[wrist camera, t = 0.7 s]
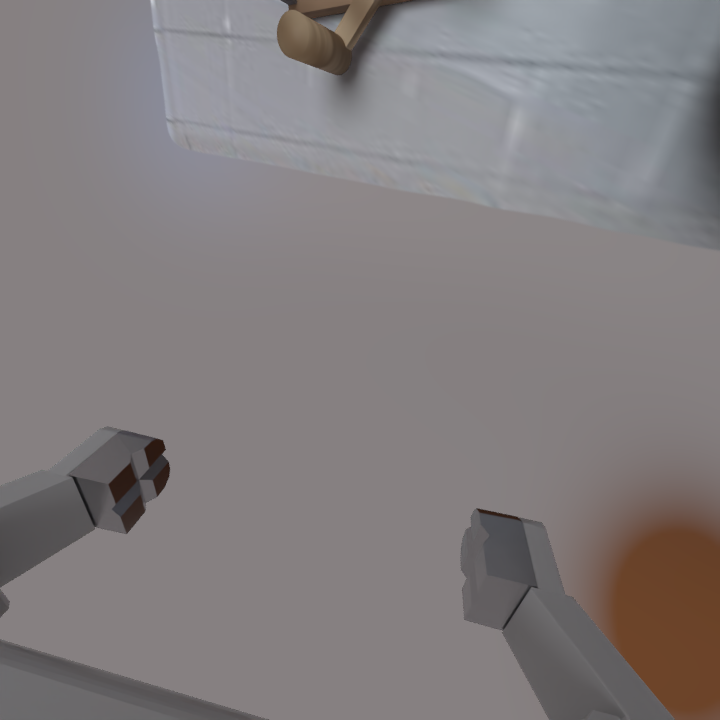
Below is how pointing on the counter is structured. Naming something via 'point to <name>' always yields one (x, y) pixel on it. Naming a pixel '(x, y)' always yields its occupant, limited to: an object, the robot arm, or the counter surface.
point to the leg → (325, 37)
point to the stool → (326, 6)
